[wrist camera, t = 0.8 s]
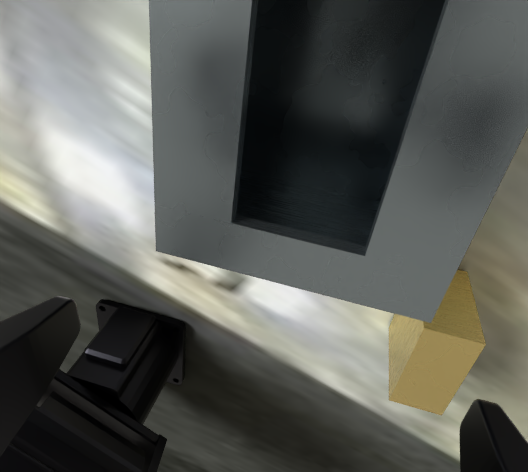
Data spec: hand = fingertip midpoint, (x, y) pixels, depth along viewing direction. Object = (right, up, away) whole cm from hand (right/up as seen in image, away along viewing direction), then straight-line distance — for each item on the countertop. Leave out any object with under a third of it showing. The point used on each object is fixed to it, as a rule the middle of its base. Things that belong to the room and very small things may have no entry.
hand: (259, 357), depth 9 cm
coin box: (+3, +10, +8) cm, 13 cm away
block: (+9, -1, +14) cm, 16 cm away
